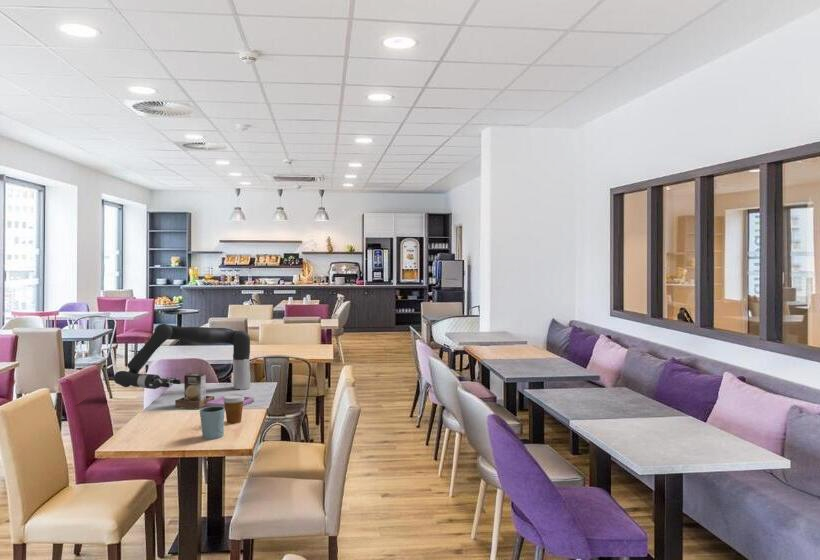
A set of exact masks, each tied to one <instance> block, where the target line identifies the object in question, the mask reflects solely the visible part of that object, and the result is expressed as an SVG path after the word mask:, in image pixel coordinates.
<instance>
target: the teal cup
mask: <svg viewBox="0 0 820 560" xmlns="http://www.w3.org/2000/svg"><path fill="white" fill-rule="evenodd" d="M225 413H226V412H225V408H224V407H222V406H209V407H203V408H201V409H199V416H200V424H201V433H202V434H201V435H202V439H204V440H217V439H221V438H223V437H224V435H225V434H224V431H225V421H224V420H225Z"/></svg>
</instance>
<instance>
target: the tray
mask: <svg viewBox="0 0 820 560" xmlns="http://www.w3.org/2000/svg"><path fill="white" fill-rule="evenodd" d="M227 395H228V394H225V395H223V396H220V397H217V398H214V400H212V401H209V402H207V403H206V407H209V406H222V407H224V408H225V405H224V401H223V399H224V396H227ZM243 397H244V401H243V406H244V405H246V406H248V405H250V404H253V403H254V402H255V400H254V399H255V397H254V396H244V395H243ZM252 402H253V403H252ZM247 404H248V405H247ZM244 407H245V406H244Z"/></svg>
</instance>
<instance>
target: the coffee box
mask: <svg viewBox="0 0 820 560" xmlns="http://www.w3.org/2000/svg"><path fill="white" fill-rule="evenodd" d="M206 376H207V375H206V373H201V372H200V373H197V372H194V373H193V372H189V373H186V374H185V375H184V377H183V378H184V384H183V385H184V392H183V393H184V401H196V402H199V401H202V400H204V399H206V396H207V390H206V389H207V387H206V385H207V384H206V383H207V382H206V380H207V379H206V378H207V377H206Z"/></svg>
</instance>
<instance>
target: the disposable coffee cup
mask: <svg viewBox="0 0 820 560" xmlns="http://www.w3.org/2000/svg"><path fill="white" fill-rule="evenodd" d="M226 395H227V396H225V395H223V396H224V399H223V401H224V405H225V412H224V413H225V417H226V423H227V424H230V425H233V424H235V423H236V424H239V423H241V422H242V418H243V417H242V415H243V401H244V397H245V396H244V395H243V394H239V393H237V394H236V393H235V394H234V393H233V394H226ZM243 396H244V397H243Z"/></svg>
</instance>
